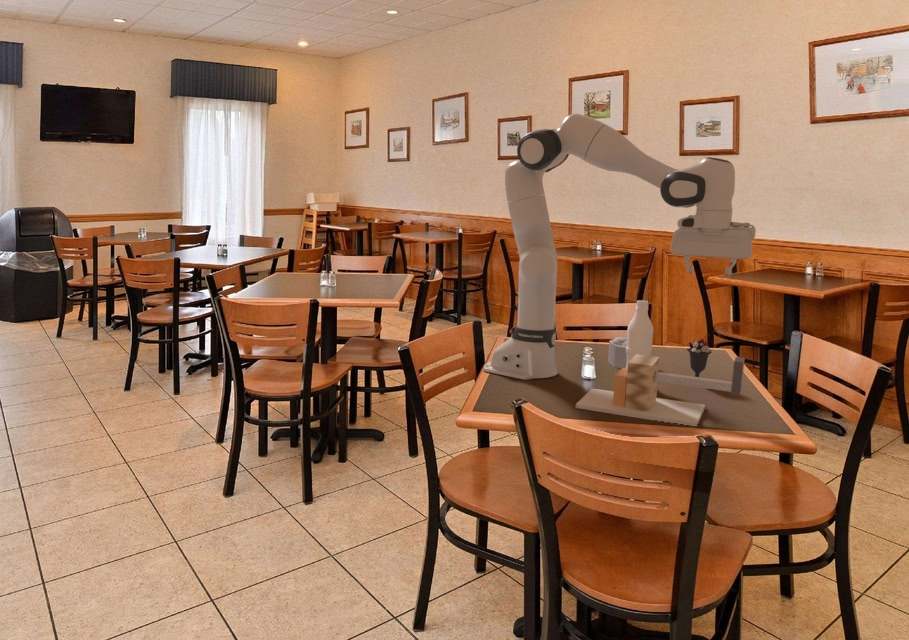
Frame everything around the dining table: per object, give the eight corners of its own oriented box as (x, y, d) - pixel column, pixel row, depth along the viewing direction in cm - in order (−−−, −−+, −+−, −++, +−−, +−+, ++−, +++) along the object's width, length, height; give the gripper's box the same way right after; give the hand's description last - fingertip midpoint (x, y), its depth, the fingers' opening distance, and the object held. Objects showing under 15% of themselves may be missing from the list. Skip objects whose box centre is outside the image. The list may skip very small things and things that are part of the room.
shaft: (639, 380, 181) (641, 350, 179) (643, 376, 185) (645, 346, 184) (739, 394, 171) (743, 362, 169) (741, 389, 175) (744, 357, 173)
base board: (575, 407, 184) (575, 404, 183) (591, 391, 198) (592, 388, 198) (696, 427, 171) (697, 423, 171) (704, 408, 185) (705, 404, 185)
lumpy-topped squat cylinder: (635, 360, 234) (636, 334, 232) (650, 370, 221) (653, 343, 220) (604, 360, 233) (606, 334, 231) (618, 371, 220) (620, 344, 218)
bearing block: (624, 408, 181) (628, 362, 179) (633, 397, 190) (636, 354, 187) (648, 411, 178) (652, 365, 176) (656, 401, 187) (659, 357, 185)
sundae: (713, 386, 205) (718, 335, 202) (693, 387, 203) (697, 336, 200) (699, 380, 212) (704, 330, 209) (680, 381, 210) (684, 331, 207)
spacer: (612, 405, 183) (614, 375, 182) (620, 396, 190) (622, 368, 189) (624, 406, 182) (626, 376, 180) (631, 398, 189) (633, 369, 187)
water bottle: (641, 392, 198) (648, 304, 193) (618, 386, 203) (624, 300, 198) (653, 386, 204) (660, 301, 199) (631, 381, 208) (636, 297, 203)
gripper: (757, 222, 183) (751, 275, 186) (675, 219, 192) (671, 270, 195) (755, 223, 178) (750, 278, 180) (671, 220, 186) (667, 272, 189)
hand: (708, 274), depth 188 cm, fingers open, 8 cm apart
